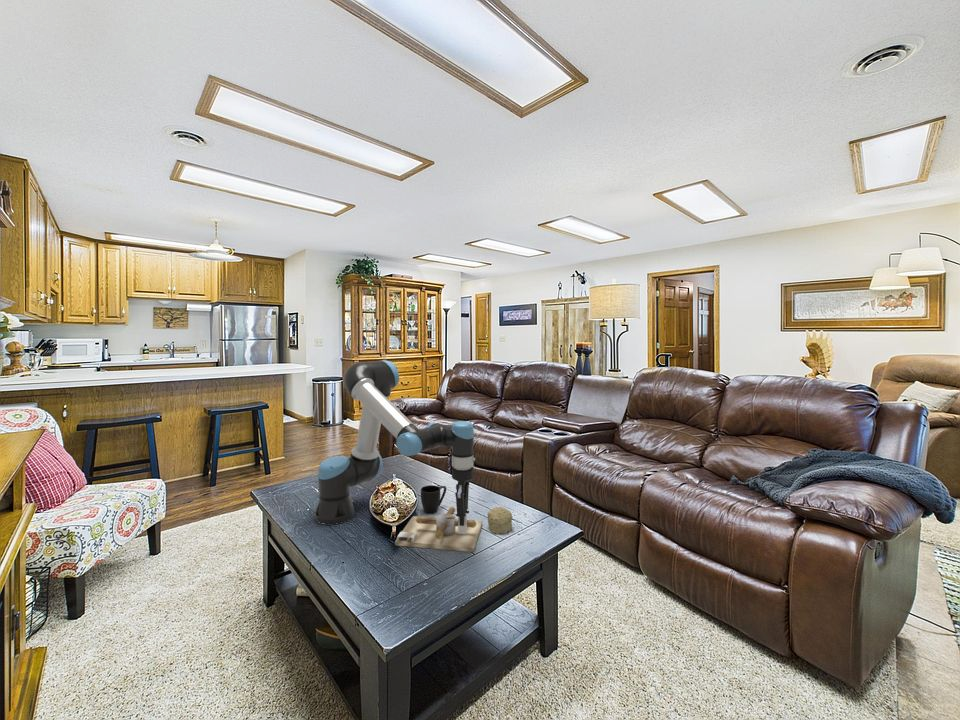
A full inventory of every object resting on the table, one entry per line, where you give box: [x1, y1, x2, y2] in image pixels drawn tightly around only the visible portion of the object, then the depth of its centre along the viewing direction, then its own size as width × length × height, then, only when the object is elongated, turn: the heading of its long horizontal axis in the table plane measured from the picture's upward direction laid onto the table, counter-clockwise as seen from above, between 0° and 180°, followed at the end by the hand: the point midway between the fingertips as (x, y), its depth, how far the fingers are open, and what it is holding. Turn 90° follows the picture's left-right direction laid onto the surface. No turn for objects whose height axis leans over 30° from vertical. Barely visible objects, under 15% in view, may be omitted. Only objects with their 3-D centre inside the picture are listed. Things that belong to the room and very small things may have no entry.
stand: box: [394, 515, 483, 553], centre depth 152 cm, size 28×20×3 cm
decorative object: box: [487, 506, 513, 535], centre depth 157 cm, size 9×10×10 cm
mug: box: [420, 484, 447, 515], centre depth 173 cm, size 8×12×10 cm
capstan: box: [416, 506, 477, 539], centre depth 151 cm, size 23×23×6 cm
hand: (462, 532), depth 144 cm, fingers closed
